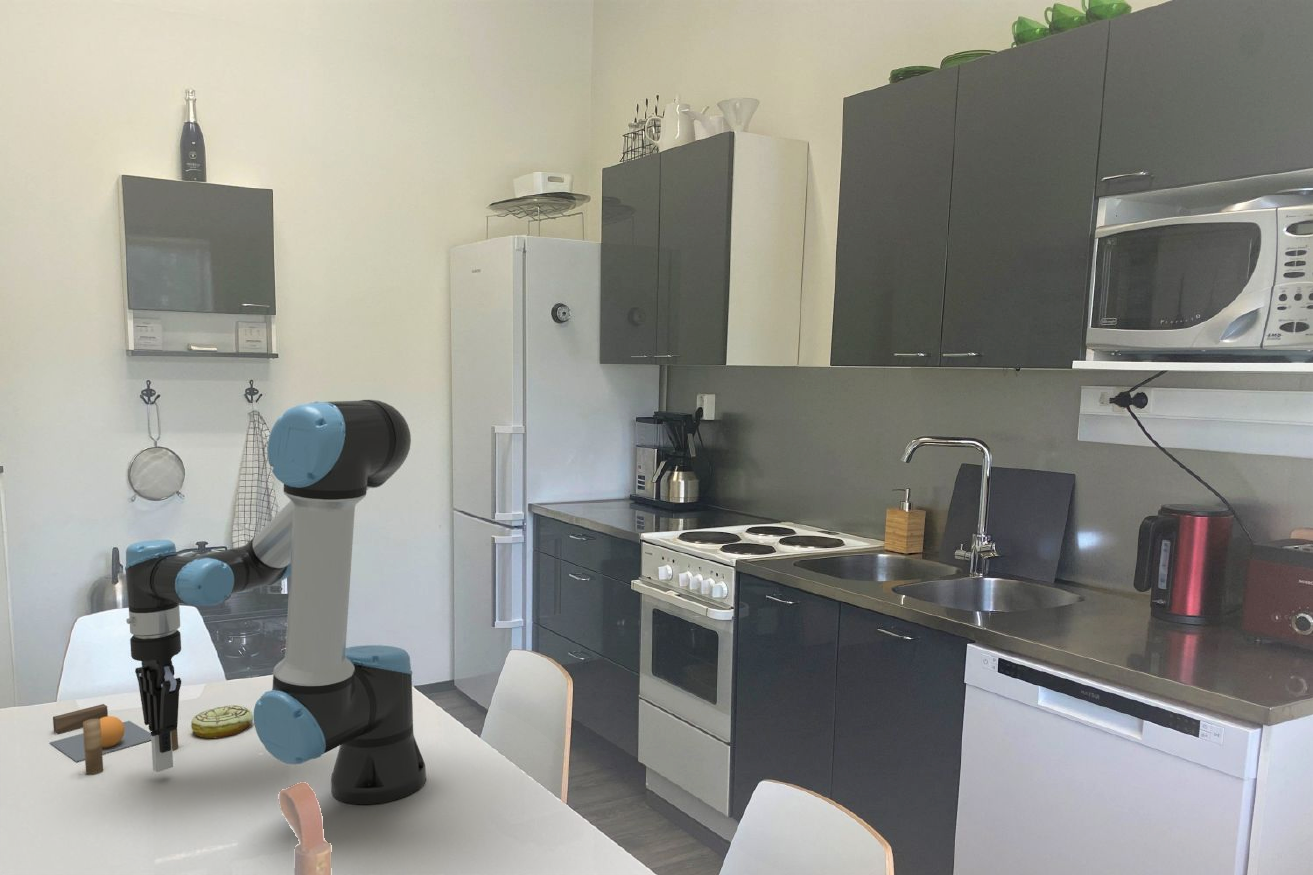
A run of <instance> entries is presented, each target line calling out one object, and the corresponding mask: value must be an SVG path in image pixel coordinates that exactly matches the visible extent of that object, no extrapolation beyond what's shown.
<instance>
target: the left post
mask: <svg viewBox="0 0 1313 875" xmlns="http://www.w3.org/2000/svg"><path fill="white" fill-rule="evenodd" d="M82 729H83V731H82V732H83V734H84V749H85V760H84V762H85V764H84V766H85V774H86V775H88V776H89V775H91V776H92V775H97V774H101V773H103V771H104V761H103V759H104V758H103V757H104V756H103V755H102V741H101V725H100V719H89V720H86V721H84V722H83V728H82Z"/></svg>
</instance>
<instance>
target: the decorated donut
mask: <svg viewBox="0 0 1313 875" xmlns="http://www.w3.org/2000/svg"><path fill="white" fill-rule="evenodd" d="M253 715H254V714H253V712H252V711H251V709H249V708H248V707H245V706H242V705H235V704H231V705H225V706H218V707H214V708H212V709H206V710H205V711H202V712H200V713H198V714H196V715H194V716H193V718H192V719H191V721H190V722H191V726H190V727H191V730H192V731H193V733H194V734H195V735H196V734H197V735H196V736H198V737H199V736H200V738H203V737H207V738H206V739H216V738H215V737H220V738H224V737H228V736H234V735H236V734H239V733H241V732H242V731H243V730H245V729H246V728H247V727H248V726H249V725H250V724H251V723H252V722H254V716H253Z"/></svg>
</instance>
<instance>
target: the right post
mask: <svg viewBox="0 0 1313 875" xmlns="http://www.w3.org/2000/svg"><path fill="white" fill-rule="evenodd" d="M178 734H179V733H178V728H177V729H176V730H173V731H171V736H172V752H174V751H175V750H177V748H178V749H179V737H178Z"/></svg>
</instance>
